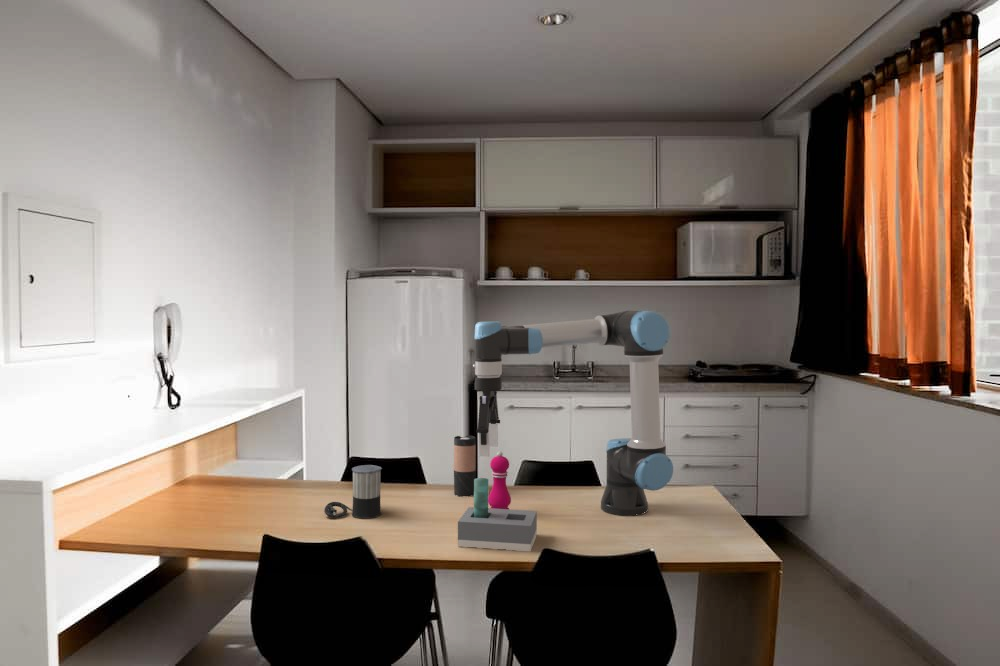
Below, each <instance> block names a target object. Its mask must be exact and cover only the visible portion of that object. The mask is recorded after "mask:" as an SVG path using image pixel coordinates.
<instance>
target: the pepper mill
mask: <svg viewBox="0 0 1000 666" xmlns="http://www.w3.org/2000/svg"><path fill="white" fill-rule="evenodd" d="M503 455H504V453H503V452H502V451H500V450H499V451H498V452H497V453H496V456H494V457H492V459H491V461H490V463H489V464H490V465H489V466H490V467H489V468H490V469H491V470H492V471H491V477H492V479H493V482H492V483H493V484H492V488H491V490H490V492H489V493H488V506H490V508H494V509H510V508H509V506H510V504H511V503H512V498H511V495H510V492H509V490H508V487H507V478H508V473H509V472H508V469H509V468H510V461H509V459H508V458H507V457H505V456H503Z"/></svg>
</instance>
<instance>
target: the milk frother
mask: <svg viewBox="0 0 1000 666" xmlns="http://www.w3.org/2000/svg"><path fill="white" fill-rule="evenodd" d="M382 469H383V468H382V467H381V466H378V465H373V464H364V465H363V464H362V465H356V466H354V467H352V468H351V471H352V508H350V507H348V506H347V505H346V504H344V503H342V502H339V501H331V502H329V503H327V504H326V505H325V507H324V510H323V511H324V514H325V515H326V516H327V517H330V518H335V519H336V518H338V519H339V518H343V517H344V516H346V515H347V514H348V510H349V511H351V516H352V517H353V518H356V519H374V518H377V517H379V516H381V515H382V511H381V506H382V505H381V475H382V474H381V473H382V472H381V470H382ZM335 507H339V508H341V509H342V512H339V513H337V511H338V510H337V509H336V508H335Z"/></svg>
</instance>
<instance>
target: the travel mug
mask: <svg viewBox="0 0 1000 666" xmlns="http://www.w3.org/2000/svg"><path fill="white" fill-rule="evenodd" d="M453 438H454V439H453V492H454V495H455V496H456V495H458V496H457V497H460V496H468V497H472V496H471V495H473V496H474V479H476V473H477V472H476V471H477V469H476V468H477V467H476V466H477V465H476V463H477V461H476V452H477V451H476V444H477V443H476V437H475V436H473V435H466V436H460V435H456V436H454V437H453Z"/></svg>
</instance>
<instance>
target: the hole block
mask: <svg viewBox="0 0 1000 666" xmlns="http://www.w3.org/2000/svg"><path fill="white" fill-rule="evenodd" d="M537 518H538V511H537V510H530V509H529V510H526V509H525V510H524V509H512V508H511V509H510V508H509V509H494V508H491V507H488V518H474V506H473V507H472V506H469V507H468V508H467V509H466V510H465V511H464V513H463V514H462V515H461V517H460V518H459V519H458V521H457V547H458V546H463V547H462V548H467V547H477V548H476V549H482V548H492V549H491V550H497V549H506V550H505V551H512V550H516V552H527V553H528V552H530V553H531V552H532V549H533V546H534V543H535V540H536V538H537V536H538V535H537V529H538V528H537V527H538V525H537V524H538V522H537V521H538V519H537Z"/></svg>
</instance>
